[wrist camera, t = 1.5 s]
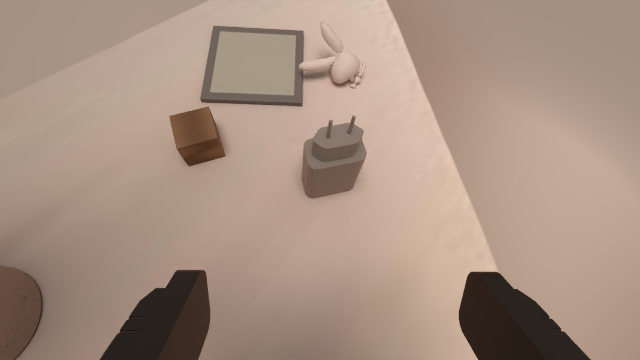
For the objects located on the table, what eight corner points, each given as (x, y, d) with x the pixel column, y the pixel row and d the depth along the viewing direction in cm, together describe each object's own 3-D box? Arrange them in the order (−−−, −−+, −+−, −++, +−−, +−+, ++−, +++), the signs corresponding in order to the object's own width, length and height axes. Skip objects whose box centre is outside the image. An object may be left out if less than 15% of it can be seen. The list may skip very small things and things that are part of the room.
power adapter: (300, 173, 35) (303, 107, 24) (347, 164, 36) (369, 96, 25) (307, 199, 34) (312, 142, 23) (355, 189, 35) (382, 129, 24)
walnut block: (188, 166, 35) (176, 148, 31) (182, 136, 36) (169, 116, 33) (225, 156, 36) (217, 137, 32) (217, 127, 37) (208, 106, 33)
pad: (201, 102, 38) (200, 98, 38) (214, 29, 43) (213, 25, 42) (302, 106, 39) (302, 102, 38) (303, 34, 44) (303, 30, 43)
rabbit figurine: (351, 103, 40) (297, 65, 37) (342, 99, 43) (292, 65, 41) (378, 60, 39) (324, 18, 36) (366, 61, 42) (317, 23, 40)
